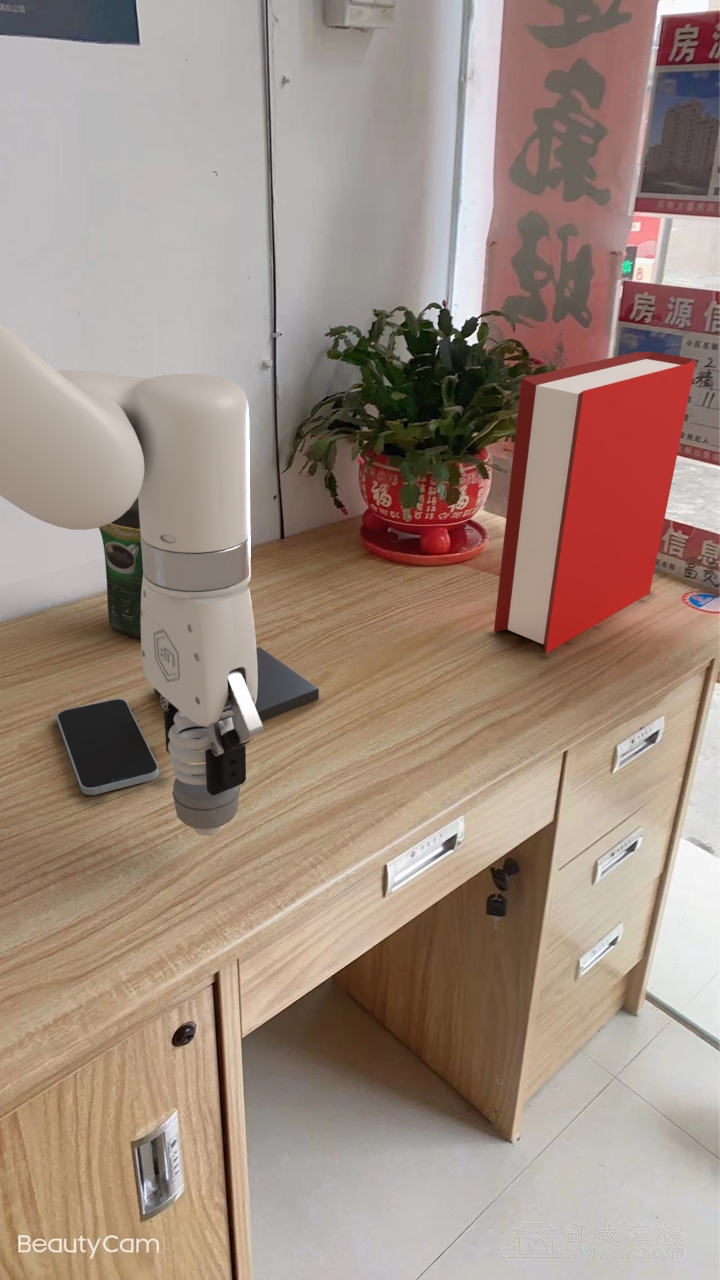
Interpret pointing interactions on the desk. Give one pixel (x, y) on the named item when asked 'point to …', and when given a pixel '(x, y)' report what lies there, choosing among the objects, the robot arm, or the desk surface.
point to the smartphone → (106, 746)
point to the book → (589, 491)
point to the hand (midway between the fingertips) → (205, 765)
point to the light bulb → (198, 779)
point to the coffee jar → (124, 571)
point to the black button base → (278, 687)
